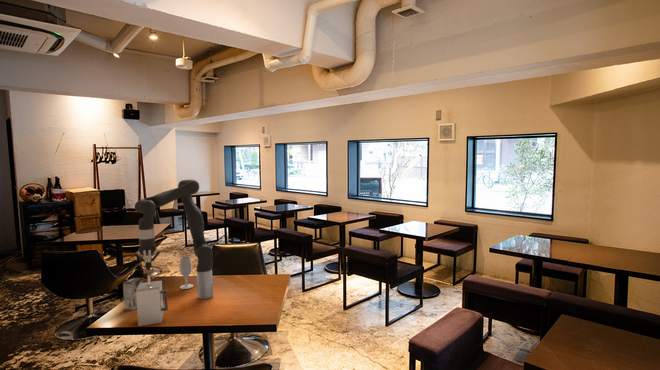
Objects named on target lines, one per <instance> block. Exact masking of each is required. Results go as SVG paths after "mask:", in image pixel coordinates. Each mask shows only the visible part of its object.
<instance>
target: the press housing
mask: <svg viewBox="0 0 660 370" xmlns="http://www.w3.org/2000/svg"><path fill="white" fill-rule="evenodd" d="M150 283H151V286H148V281H147V282H143V283H140V284H139V285H138V287H137V289H136V296H137V308H136V309H137V310H136V311H137V312H136V313H137V326H138V327H143V326H149V325H154V324H161V323H162V322H163V317H164V312H165V311H168V310H169V307H168V306H169V304H168V303H169V302H168V289H163V281H162V280H155V281H153V280H152V281H150ZM163 295H164V296H163ZM163 297H164V300H163Z"/></svg>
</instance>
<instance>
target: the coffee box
mask: <svg viewBox="0 0 660 370" xmlns="http://www.w3.org/2000/svg"><path fill="white" fill-rule="evenodd" d="M140 283H144V278H143V277H133V278H130V279H127V280H125V281H124V282H122V290H123V292H122V293H123V303H124V304H123V306H124V310H136V309H137V296H136V289H137V287H138V285H139V284H140Z"/></svg>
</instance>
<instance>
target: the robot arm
mask: <svg viewBox="0 0 660 370" xmlns="http://www.w3.org/2000/svg"><path fill="white" fill-rule="evenodd" d="M177 185H178V186H177V187H176V188H173V189H172V188H171V189H168V190H164V191H162V192H160V193H157V194H155V195H153V196H149V197H148V196H147V197H145V198H141V199H139V200H138V201H137V202H136V203H135V204H134V210H135V211H136V212H137V213H139V214H142V215H143V216H142V217H141V218H139V219H138V244H139V246H138V247H139V248H138V250H137V251H136V252H135V253H134V256H135V258H137V260H139V261H140V262H141V263H144V269H145V268H147V269H150V268H151V267H152V268H153V266H152V262H155V260H156V258H157V257H158V256H159V255H160V253H161V250H160V249H157V247H156V235H155V228H154V224H155V223H154V220H155V214H156V211H157V208H161V207H163V206H165V205H168V204H170V203H171V202H172V203H173V202H174V201H177V200H178V199H181V202H182V206H183V209H184V212H185V215H186V220H187V221H186V222H187V225H188V229H189V232H190V235H191V238H192V239H191V240H192V245H193V254H194V255H195V257H196V258H197V266H196V282H197V283H196V287H197V288H196V289H197V298H198V299H199V300H206V299H207V300H208V299H211V298H214V283H213V264H214V254H213V249H212V247H211V246H209V245H207V241H206V239H205V221H204V217H203V216H204V215H203V213H202V211H201V209H200V208H199V207H198V206H197V204H196V203H195V201H194V199H193V196H192V195H195V194H197V193H198V192H199V190H200V183H199V182H198V181H197V180H195V179H184V180H183V179H182V180H180V181H179V182H178V184H177ZM153 255H154V256H153ZM152 256H153V257H152Z"/></svg>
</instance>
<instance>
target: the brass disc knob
mask: <svg viewBox="0 0 660 370" xmlns="http://www.w3.org/2000/svg"><path fill="white" fill-rule="evenodd" d="M142 270H143V275H147V282H148V286H151V283H150V282H151V274H152V273H153V274H154V272H155V269H154V267H153V266H152V267H151V268H150V269H147V268H145V267H144V268H142Z"/></svg>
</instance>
